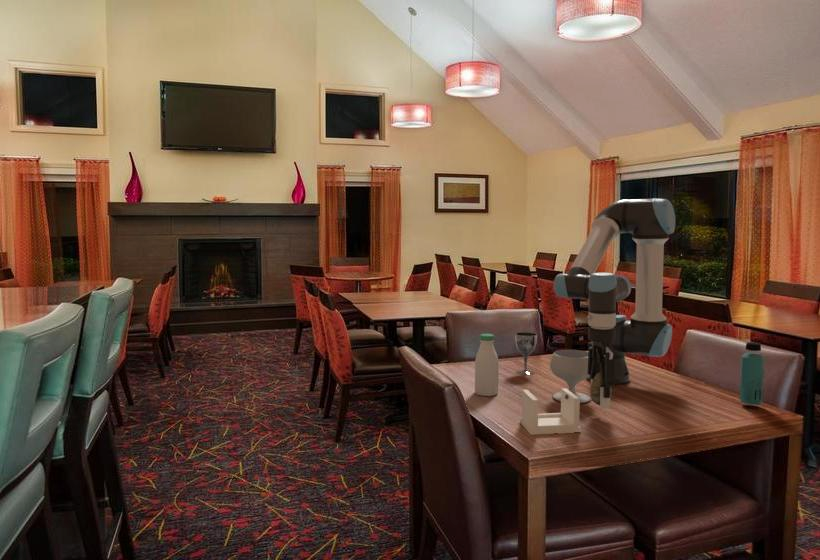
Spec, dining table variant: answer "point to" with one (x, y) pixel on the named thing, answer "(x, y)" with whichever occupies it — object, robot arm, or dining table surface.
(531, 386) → the dining table surface
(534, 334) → the wine glass
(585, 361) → the chalice
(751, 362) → the beverage bottle
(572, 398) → the holder
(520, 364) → the dining table surface
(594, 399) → the decorative egg
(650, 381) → the dining table surface
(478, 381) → the milk bottle
